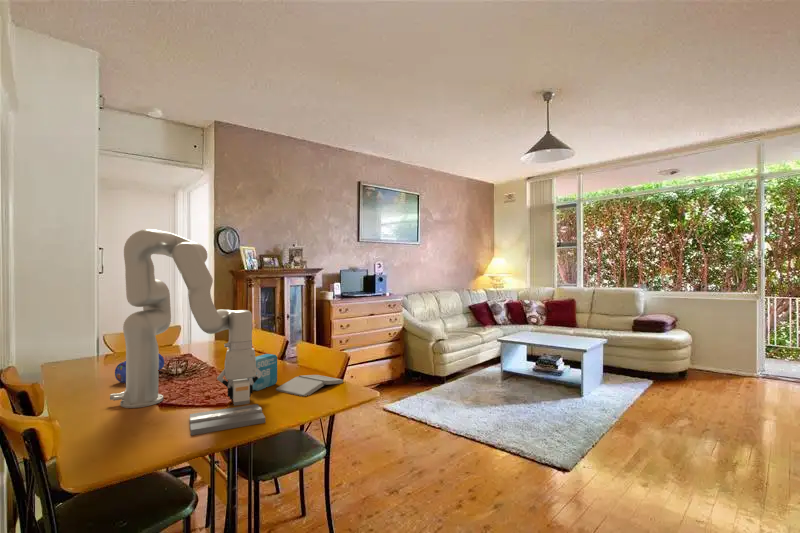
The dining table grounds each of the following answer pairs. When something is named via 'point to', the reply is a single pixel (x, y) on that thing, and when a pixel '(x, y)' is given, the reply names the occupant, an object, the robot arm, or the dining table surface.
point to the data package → (266, 371)
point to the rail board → (226, 419)
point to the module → (241, 392)
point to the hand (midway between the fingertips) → (240, 396)
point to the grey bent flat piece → (307, 384)
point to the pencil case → (121, 370)
